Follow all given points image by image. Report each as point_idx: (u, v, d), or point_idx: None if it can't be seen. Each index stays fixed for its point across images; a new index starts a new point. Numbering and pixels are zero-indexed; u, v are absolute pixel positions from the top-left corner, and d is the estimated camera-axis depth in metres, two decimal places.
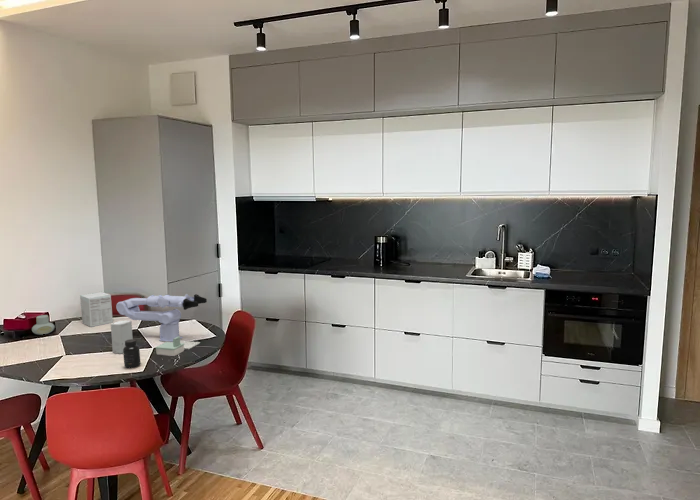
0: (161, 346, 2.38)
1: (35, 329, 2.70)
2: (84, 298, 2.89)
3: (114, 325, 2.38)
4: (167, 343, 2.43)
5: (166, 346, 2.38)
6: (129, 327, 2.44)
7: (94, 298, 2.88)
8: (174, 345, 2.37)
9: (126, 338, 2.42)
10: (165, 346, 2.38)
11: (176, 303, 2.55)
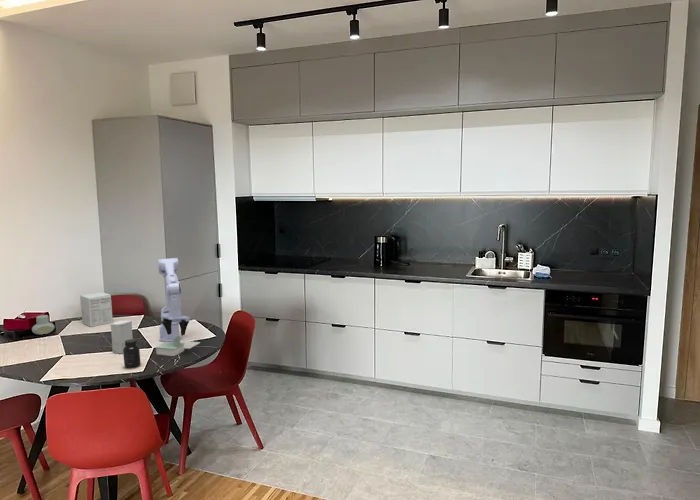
0: (161, 346, 2.38)
1: (35, 329, 2.70)
2: (84, 298, 2.89)
3: (114, 325, 2.38)
4: (167, 343, 2.43)
5: (166, 346, 2.38)
6: (129, 327, 2.44)
7: (94, 298, 2.88)
8: (174, 345, 2.37)
9: (126, 338, 2.42)
10: (165, 346, 2.38)
11: None
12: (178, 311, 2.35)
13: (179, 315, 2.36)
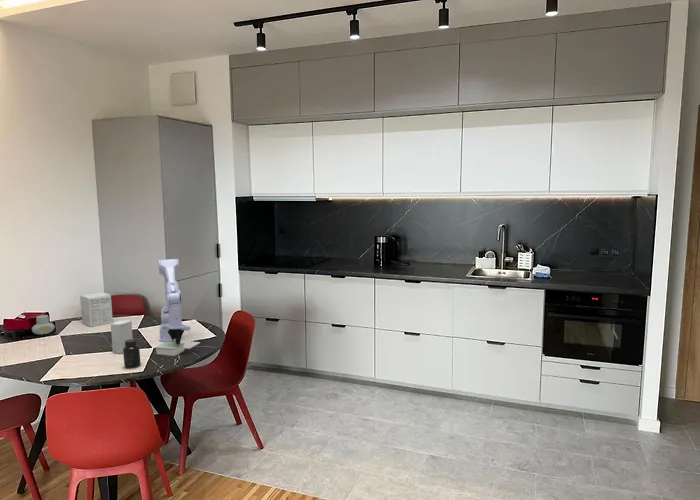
0: (161, 346, 2.38)
1: (35, 329, 2.70)
2: (84, 298, 2.89)
3: (114, 325, 2.38)
4: (167, 343, 2.43)
5: (166, 346, 2.38)
6: (129, 327, 2.44)
7: (94, 298, 2.88)
8: (174, 345, 2.37)
9: (126, 338, 2.42)
10: (165, 346, 2.38)
11: None
12: (178, 320, 2.36)
13: (179, 324, 2.36)
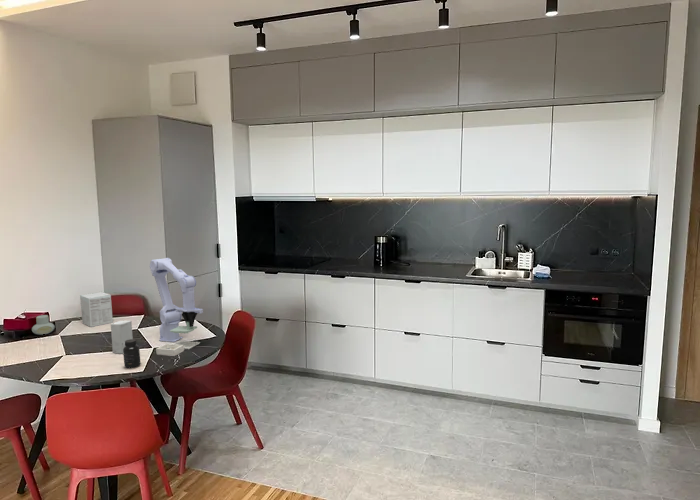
0: (175, 329, 2.49)
1: (35, 329, 2.70)
2: (84, 298, 2.89)
3: (114, 325, 2.38)
4: (181, 327, 2.53)
5: (180, 329, 2.49)
6: (129, 327, 2.44)
7: (94, 298, 2.88)
8: (187, 328, 2.47)
9: (126, 338, 2.42)
10: (179, 329, 2.49)
11: None
12: (192, 304, 2.46)
13: (193, 307, 2.47)
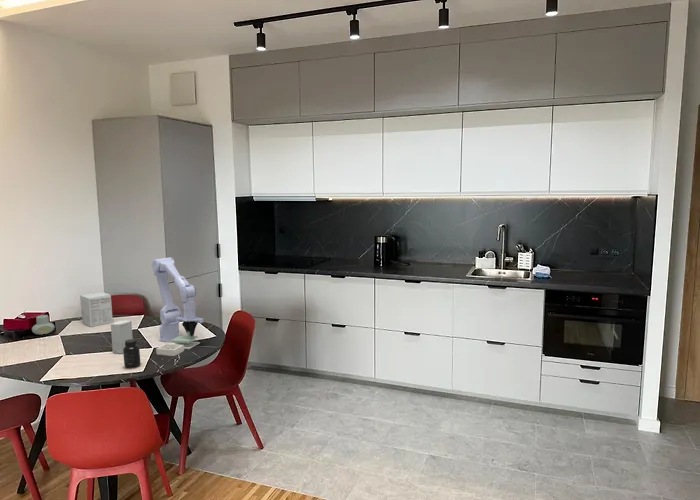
0: (176, 339, 2.49)
1: (35, 329, 2.70)
2: (84, 298, 2.89)
3: (114, 325, 2.38)
4: (181, 336, 2.54)
5: (180, 339, 2.49)
6: (129, 327, 2.44)
7: (94, 298, 2.88)
8: (188, 338, 2.48)
9: (126, 338, 2.42)
10: (179, 339, 2.49)
11: None
12: (192, 313, 2.47)
13: (193, 317, 2.48)
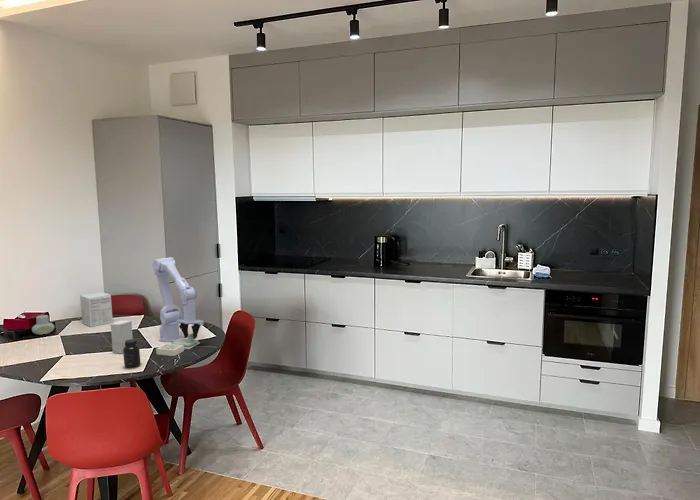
0: (176, 342, 2.50)
1: (35, 329, 2.70)
2: (84, 298, 2.89)
3: (114, 325, 2.38)
4: (182, 339, 2.54)
5: (181, 342, 2.49)
6: (129, 327, 2.44)
7: (94, 298, 2.88)
8: (189, 341, 2.48)
9: (126, 338, 2.42)
10: (180, 342, 2.49)
11: None
12: (193, 315, 2.47)
13: (193, 319, 2.48)
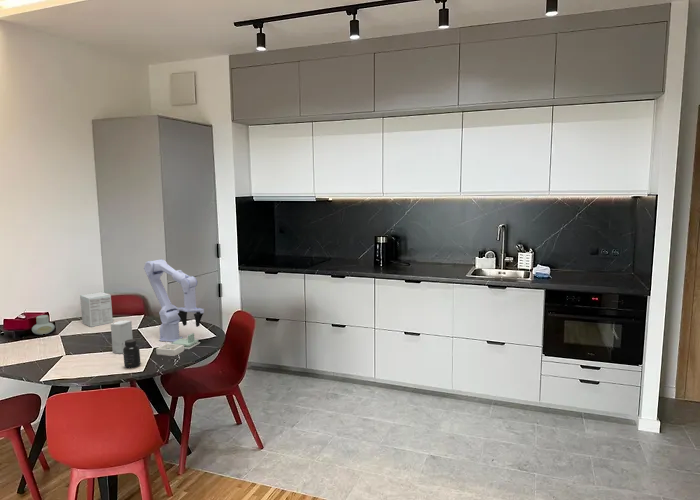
0: (176, 342, 2.50)
1: (35, 329, 2.70)
2: (84, 298, 2.89)
3: (114, 325, 2.38)
4: (182, 339, 2.54)
5: (181, 342, 2.49)
6: (129, 327, 2.44)
7: (94, 298, 2.88)
8: (189, 341, 2.48)
9: (126, 338, 2.42)
10: (180, 342, 2.49)
11: None
12: (193, 303, 2.50)
13: (194, 307, 2.51)
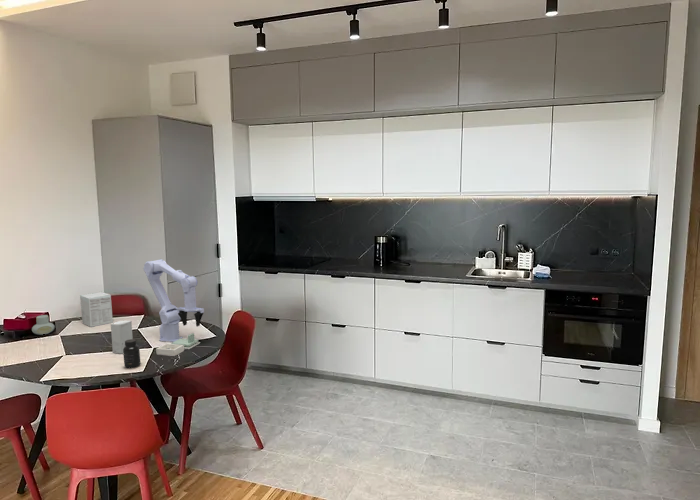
0: (176, 342, 2.50)
1: (35, 329, 2.70)
2: (84, 298, 2.89)
3: (114, 325, 2.38)
4: (182, 339, 2.54)
5: (181, 342, 2.49)
6: (129, 327, 2.44)
7: (94, 298, 2.88)
8: (189, 341, 2.48)
9: (126, 338, 2.42)
10: (180, 342, 2.49)
11: None
12: (193, 303, 2.51)
13: (194, 307, 2.51)
